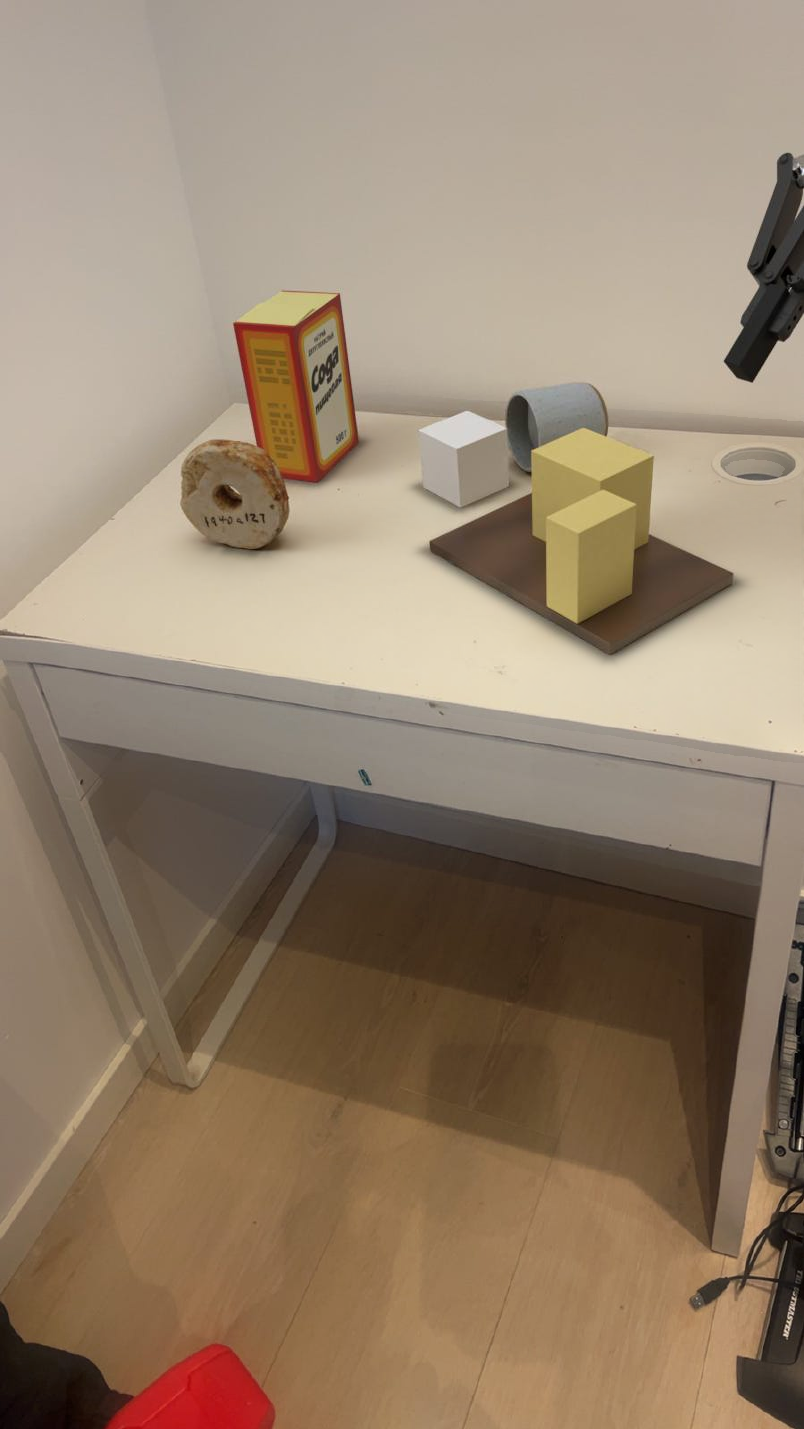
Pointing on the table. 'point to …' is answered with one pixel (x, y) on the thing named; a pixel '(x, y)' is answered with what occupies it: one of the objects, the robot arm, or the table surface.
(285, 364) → the baking soda box
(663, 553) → the butter board
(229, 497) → the stone disc
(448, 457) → the white cube
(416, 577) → the table surface
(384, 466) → the table surface
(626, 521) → the block
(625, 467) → the butter block
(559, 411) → the ceramic mug
